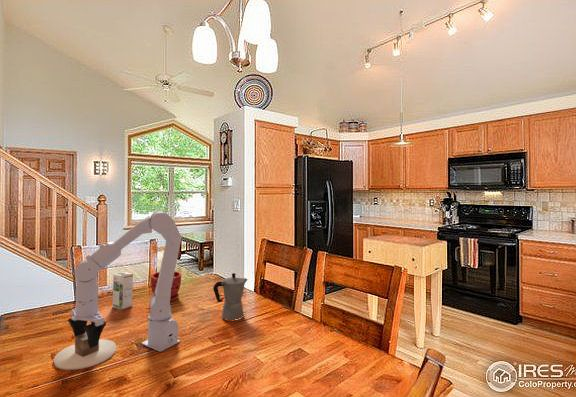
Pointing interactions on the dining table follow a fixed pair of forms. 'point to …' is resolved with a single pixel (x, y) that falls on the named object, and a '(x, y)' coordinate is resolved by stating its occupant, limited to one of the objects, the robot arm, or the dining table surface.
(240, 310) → the coffeepot
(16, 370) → the dining table surface
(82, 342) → the walnut block
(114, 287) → the syrup box
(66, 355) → the white plate
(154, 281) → the plant pot
